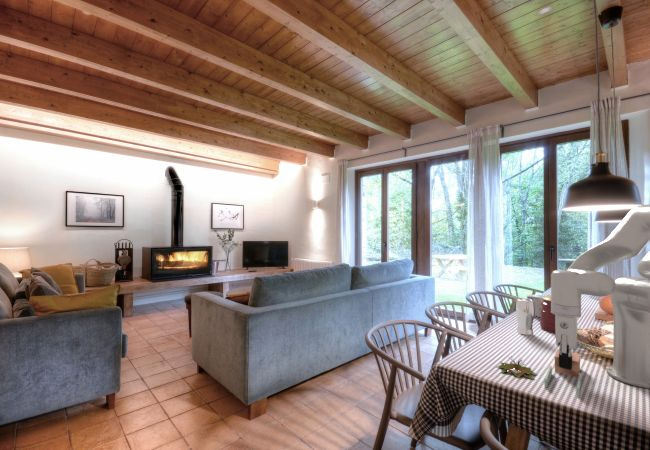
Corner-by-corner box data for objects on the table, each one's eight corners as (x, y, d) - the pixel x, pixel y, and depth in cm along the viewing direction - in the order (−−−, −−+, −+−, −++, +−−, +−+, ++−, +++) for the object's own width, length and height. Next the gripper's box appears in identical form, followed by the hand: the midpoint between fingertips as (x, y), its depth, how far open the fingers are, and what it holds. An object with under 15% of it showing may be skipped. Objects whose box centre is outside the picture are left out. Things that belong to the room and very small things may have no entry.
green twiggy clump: (541, 385, 91) (541, 370, 91) (495, 375, 97) (495, 361, 97) (536, 369, 102) (536, 355, 102) (495, 361, 107) (495, 348, 108)
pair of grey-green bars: (581, 381, 93) (581, 373, 93) (579, 397, 84) (579, 388, 84) (549, 373, 98) (549, 365, 98) (544, 387, 89) (544, 378, 89)
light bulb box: (550, 315, 165) (550, 296, 165) (551, 318, 159) (551, 298, 159) (526, 312, 171) (526, 293, 171) (527, 315, 165) (527, 295, 165)
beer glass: (538, 334, 134) (538, 300, 134) (527, 336, 132) (527, 302, 132) (522, 329, 141) (523, 297, 141) (512, 331, 138) (512, 298, 138)
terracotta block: (579, 369, 102) (579, 354, 102) (578, 377, 96) (578, 361, 96) (557, 363, 106) (557, 349, 106) (554, 371, 100) (554, 356, 100)
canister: (570, 337, 132) (571, 296, 132) (536, 329, 142) (536, 291, 142) (578, 331, 140) (578, 292, 141) (544, 323, 150) (544, 288, 151)
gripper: (579, 316, 89) (579, 380, 88) (582, 307, 100) (582, 363, 99) (548, 311, 94) (547, 371, 93) (553, 303, 105) (553, 357, 104)
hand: (565, 367), depth 96 cm, fingers closed
